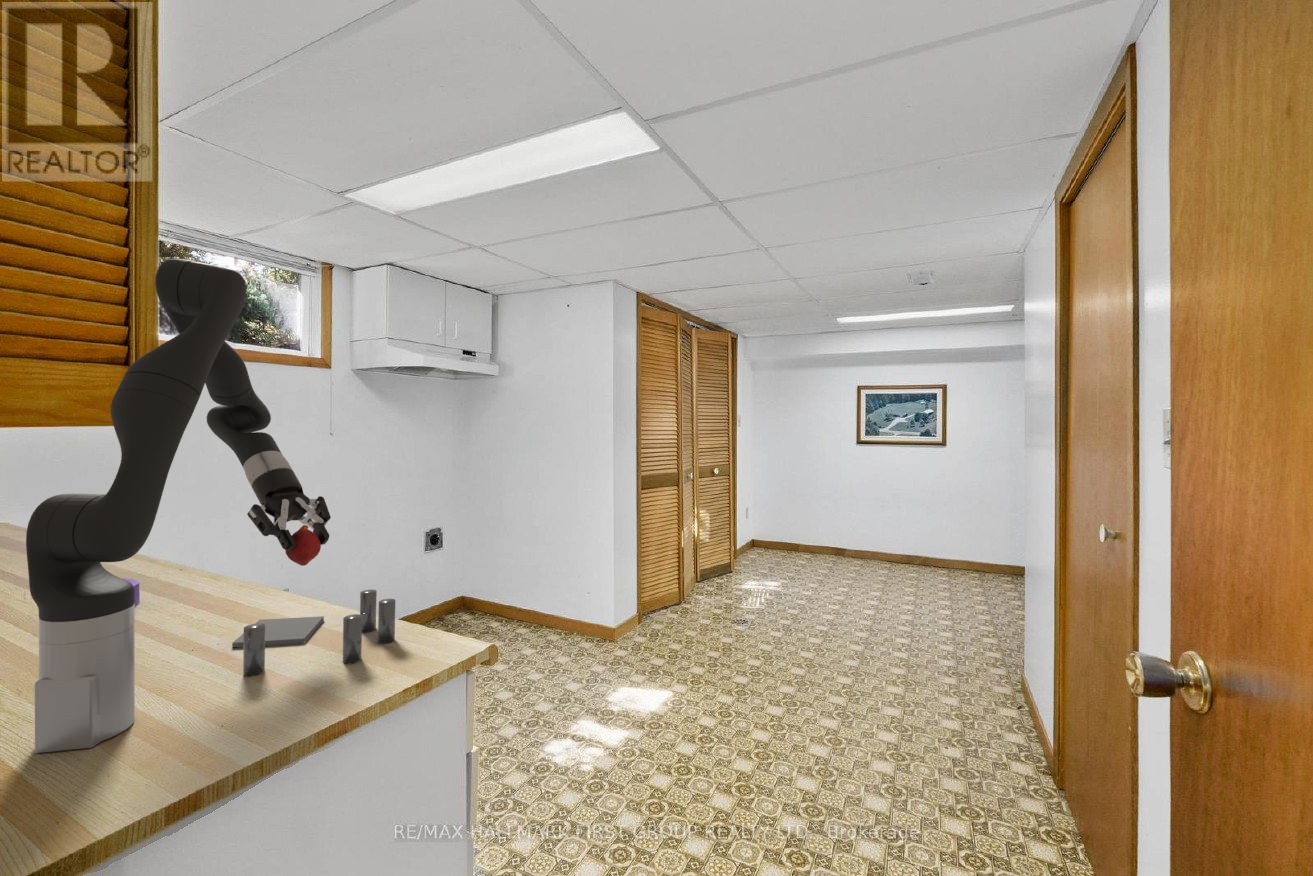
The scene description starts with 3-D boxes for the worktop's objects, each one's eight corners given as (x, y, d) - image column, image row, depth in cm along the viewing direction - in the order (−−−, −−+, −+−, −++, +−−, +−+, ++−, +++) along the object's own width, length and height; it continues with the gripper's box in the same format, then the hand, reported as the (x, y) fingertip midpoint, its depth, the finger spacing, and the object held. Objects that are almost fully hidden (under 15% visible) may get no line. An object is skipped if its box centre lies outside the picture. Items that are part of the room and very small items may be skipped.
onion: (302, 571, 104) (303, 529, 104) (277, 568, 105) (277, 526, 105) (327, 563, 110) (327, 523, 109) (303, 560, 111) (303, 521, 111)
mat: (304, 643, 107) (304, 638, 107) (232, 648, 104) (232, 642, 104) (323, 620, 119) (323, 616, 119) (259, 624, 116) (259, 619, 116)
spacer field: (381, 666, 99) (382, 622, 99) (239, 676, 93) (240, 630, 93) (401, 624, 118) (402, 588, 118) (284, 631, 112) (285, 593, 112)
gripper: (240, 469, 103) (278, 541, 99) (316, 464, 116) (352, 527, 112) (224, 494, 106) (261, 565, 101) (300, 486, 119) (335, 549, 114)
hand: (309, 545), depth 107 cm, fingers closed on onion, 5 cm apart
